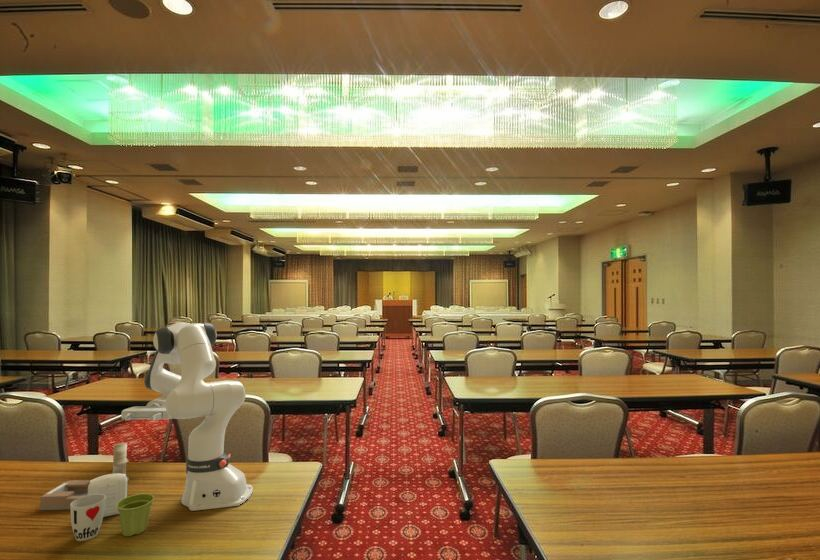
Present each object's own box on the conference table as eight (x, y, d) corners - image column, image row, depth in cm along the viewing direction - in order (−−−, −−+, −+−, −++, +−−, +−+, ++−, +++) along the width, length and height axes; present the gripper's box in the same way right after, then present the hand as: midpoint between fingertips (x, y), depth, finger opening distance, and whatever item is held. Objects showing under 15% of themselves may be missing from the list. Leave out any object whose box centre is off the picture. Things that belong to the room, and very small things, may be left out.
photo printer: (126, 507, 138) (127, 468, 138) (126, 513, 134) (127, 473, 134) (86, 516, 132) (88, 476, 132) (85, 522, 128) (87, 481, 129)
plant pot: (160, 523, 128) (161, 494, 128) (136, 541, 119) (137, 510, 119) (133, 521, 129) (134, 492, 130) (106, 538, 120) (107, 507, 120)
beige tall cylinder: (132, 479, 158) (133, 441, 159) (122, 486, 152) (124, 447, 153) (115, 479, 158) (117, 441, 159) (105, 486, 152) (106, 447, 153)
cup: (64, 546, 116) (66, 509, 116) (74, 531, 123) (75, 496, 124) (100, 540, 119) (101, 504, 119) (107, 525, 126) (108, 491, 127)
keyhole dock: (115, 491, 148) (115, 479, 149) (92, 508, 136) (92, 495, 137) (67, 492, 147) (68, 480, 147) (39, 510, 135) (40, 496, 136)
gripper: (132, 401, 181) (112, 410, 168) (181, 401, 183) (165, 410, 169) (132, 416, 181) (111, 426, 167) (181, 416, 183) (165, 426, 169)
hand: (139, 418), depth 168 cm, fingers open, 8 cm apart
